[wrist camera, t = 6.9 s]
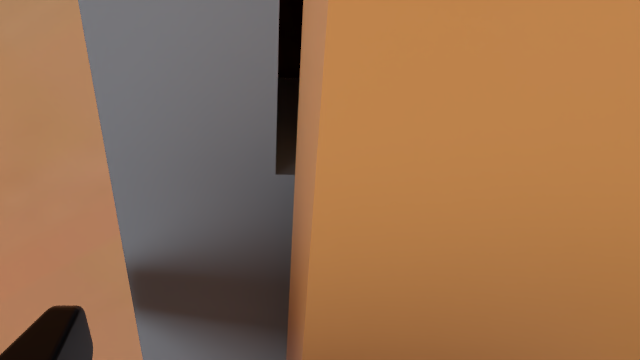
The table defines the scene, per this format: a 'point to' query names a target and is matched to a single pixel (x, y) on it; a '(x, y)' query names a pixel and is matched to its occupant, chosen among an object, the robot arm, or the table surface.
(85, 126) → the table surface
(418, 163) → the wooden arch block
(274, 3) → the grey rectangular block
